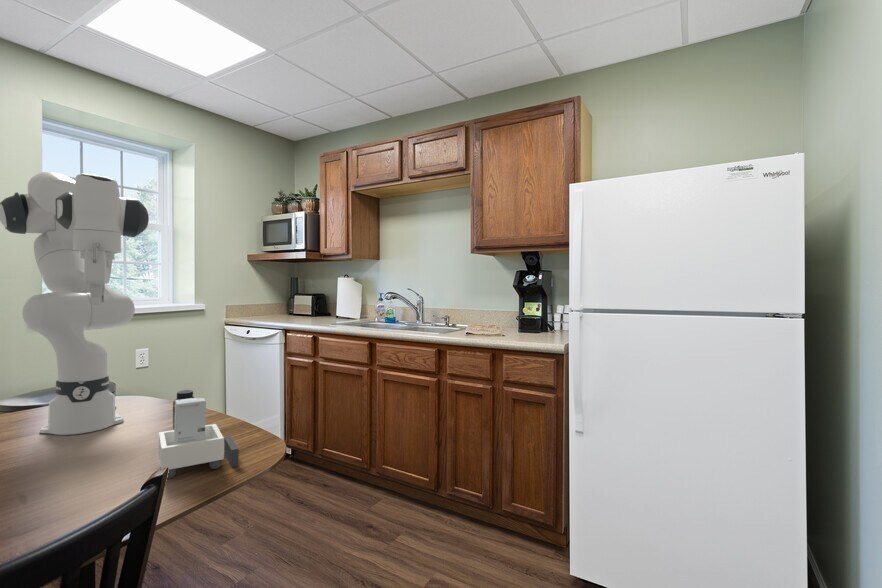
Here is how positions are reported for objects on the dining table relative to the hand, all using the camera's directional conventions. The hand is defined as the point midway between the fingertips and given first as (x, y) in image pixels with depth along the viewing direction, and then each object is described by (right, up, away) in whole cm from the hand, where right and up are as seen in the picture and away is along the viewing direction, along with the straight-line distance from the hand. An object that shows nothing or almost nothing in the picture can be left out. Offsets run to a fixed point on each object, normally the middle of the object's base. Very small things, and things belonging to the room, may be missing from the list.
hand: (97, 303), depth 105 cm
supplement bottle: (+7, -37, +23) cm, 44 cm away
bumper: (+29, -38, +4) cm, 48 cm away
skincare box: (+22, -34, -1) cm, 41 cm away
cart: (+22, -38, -1) cm, 44 cm away
